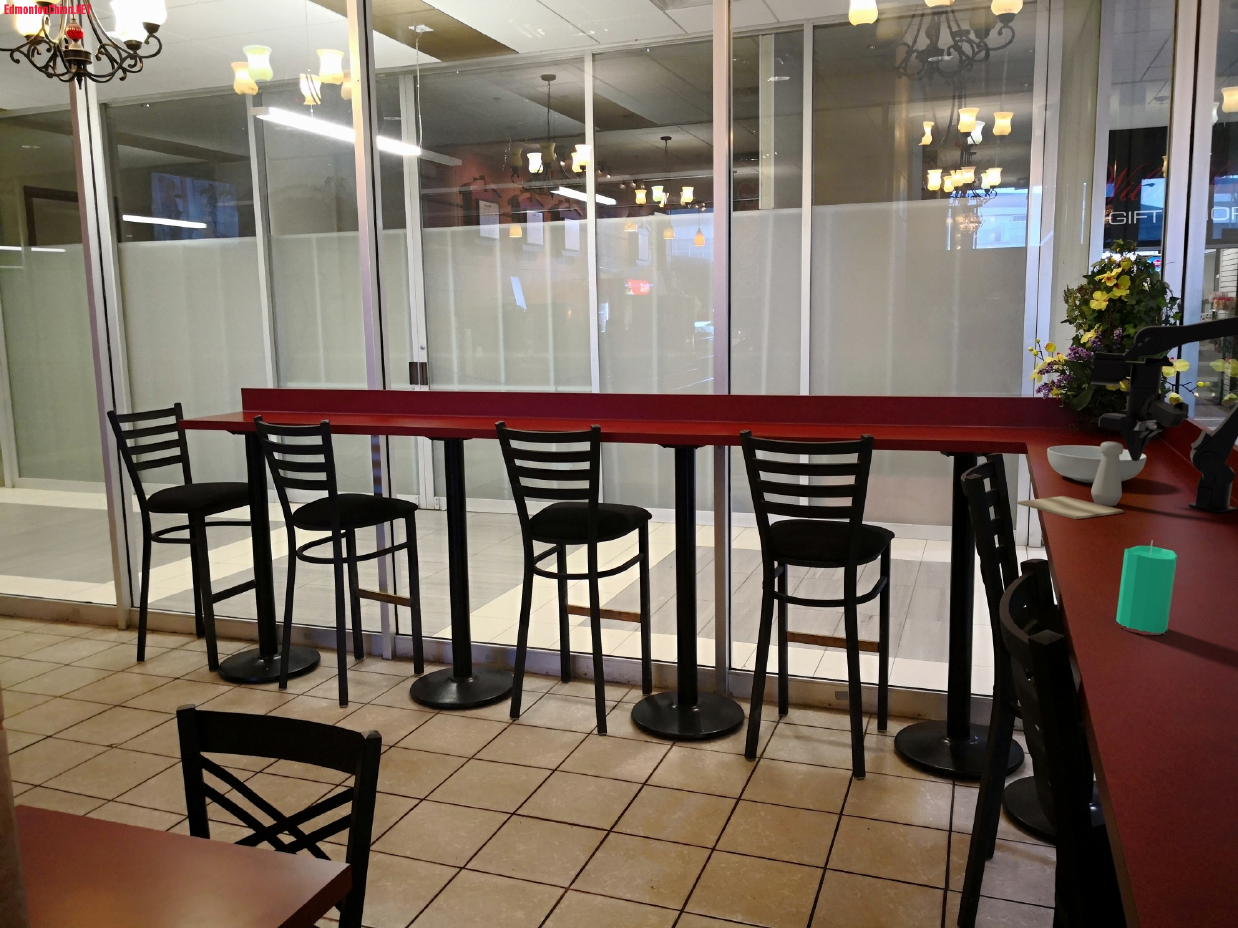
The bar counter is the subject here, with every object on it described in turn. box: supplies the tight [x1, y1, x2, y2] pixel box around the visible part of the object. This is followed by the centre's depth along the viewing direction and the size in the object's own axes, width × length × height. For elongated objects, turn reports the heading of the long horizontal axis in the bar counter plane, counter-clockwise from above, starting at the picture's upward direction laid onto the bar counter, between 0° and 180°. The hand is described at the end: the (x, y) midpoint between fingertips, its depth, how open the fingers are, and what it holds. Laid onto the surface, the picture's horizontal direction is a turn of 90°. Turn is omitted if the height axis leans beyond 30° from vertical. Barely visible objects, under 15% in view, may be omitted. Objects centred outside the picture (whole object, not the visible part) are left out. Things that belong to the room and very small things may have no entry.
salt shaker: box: [1090, 441, 1124, 507], centre depth 200 cm, size 6×6×13 cm
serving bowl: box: [1046, 445, 1147, 484], centre depth 226 cm, size 21×21×7 cm
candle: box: [1115, 539, 1178, 633], centre depth 127 cm, size 6×6×12 cm
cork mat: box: [1016, 495, 1124, 520], centre depth 197 cm, size 14×14×1 cm
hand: (1135, 460), depth 204 cm, fingers closed
